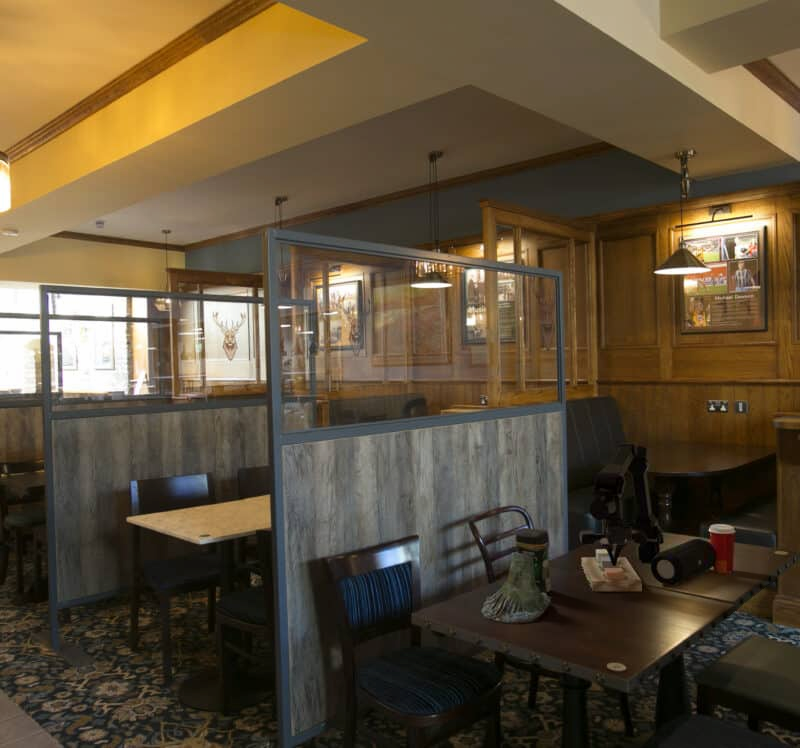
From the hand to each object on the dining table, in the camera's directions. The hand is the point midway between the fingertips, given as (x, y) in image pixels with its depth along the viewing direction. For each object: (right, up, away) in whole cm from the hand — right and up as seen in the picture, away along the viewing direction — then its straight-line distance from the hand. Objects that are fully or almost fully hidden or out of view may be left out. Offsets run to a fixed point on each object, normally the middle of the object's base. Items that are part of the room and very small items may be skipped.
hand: (613, 565), depth 211 cm
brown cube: (0, -7, 0) cm, 7 cm away
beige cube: (+3, -5, +18) cm, 19 cm away
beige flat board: (+2, -6, +9) cm, 11 cm away
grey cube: (+1, -5, +9) cm, 11 cm away
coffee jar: (-24, -8, -1) cm, 25 cm away
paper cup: (+38, -5, +11) cm, 40 cm away
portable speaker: (+24, -6, +6) cm, 25 cm away
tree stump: (-32, -8, -16) cm, 37 cm away
